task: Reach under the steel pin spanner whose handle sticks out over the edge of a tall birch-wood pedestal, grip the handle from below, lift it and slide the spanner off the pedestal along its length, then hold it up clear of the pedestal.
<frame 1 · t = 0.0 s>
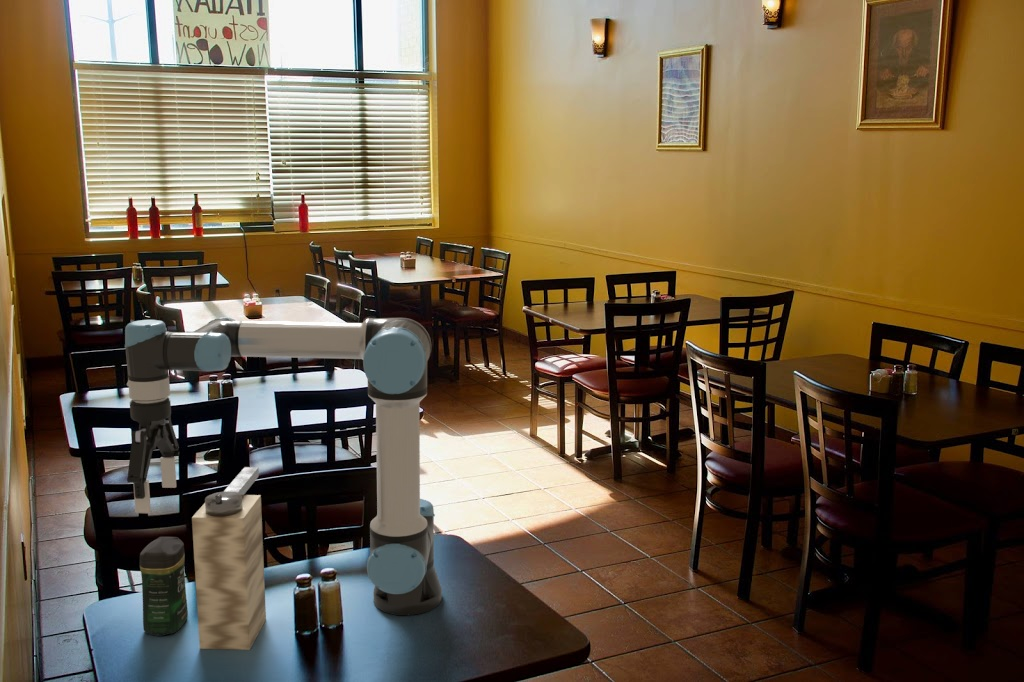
hand: (156, 499, 184), 28 cm above the table, tool pointing down, fingers open, 13 cm apart
pin spanner: (227, 505, 182), point 28 cm above the table, touching birch pedestal
coffee jar: (166, 626, 190), on the table
birch pedestal: (233, 633, 187), on the table
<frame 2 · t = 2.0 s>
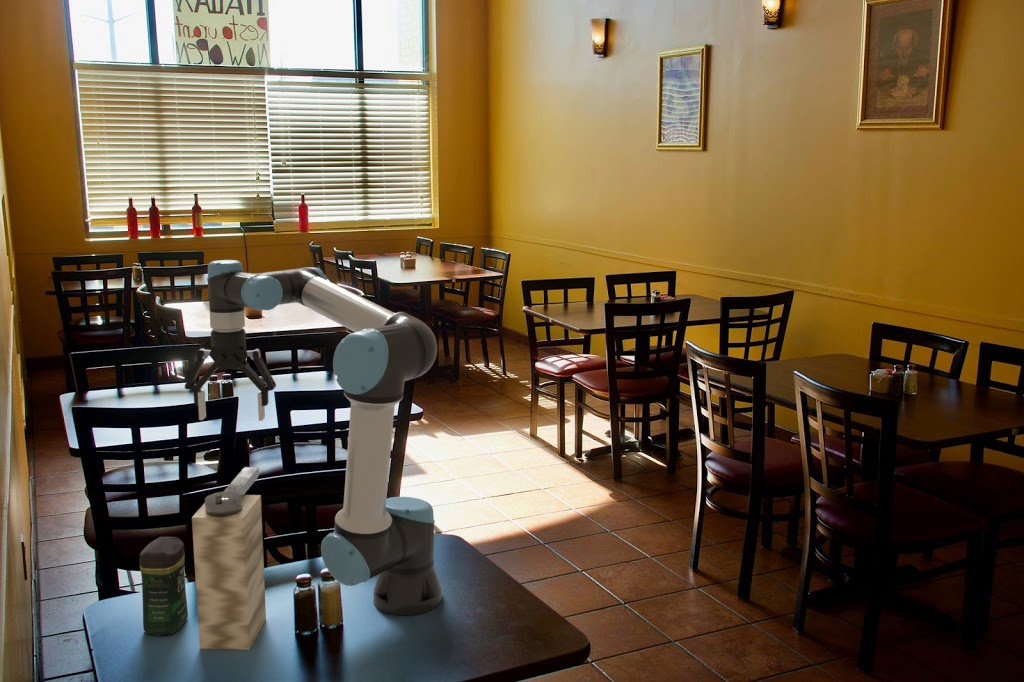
hand: (232, 418, 210), 37 cm above the table, tool pointing down, fingers open, 13 cm apart
nothing on the table moved.
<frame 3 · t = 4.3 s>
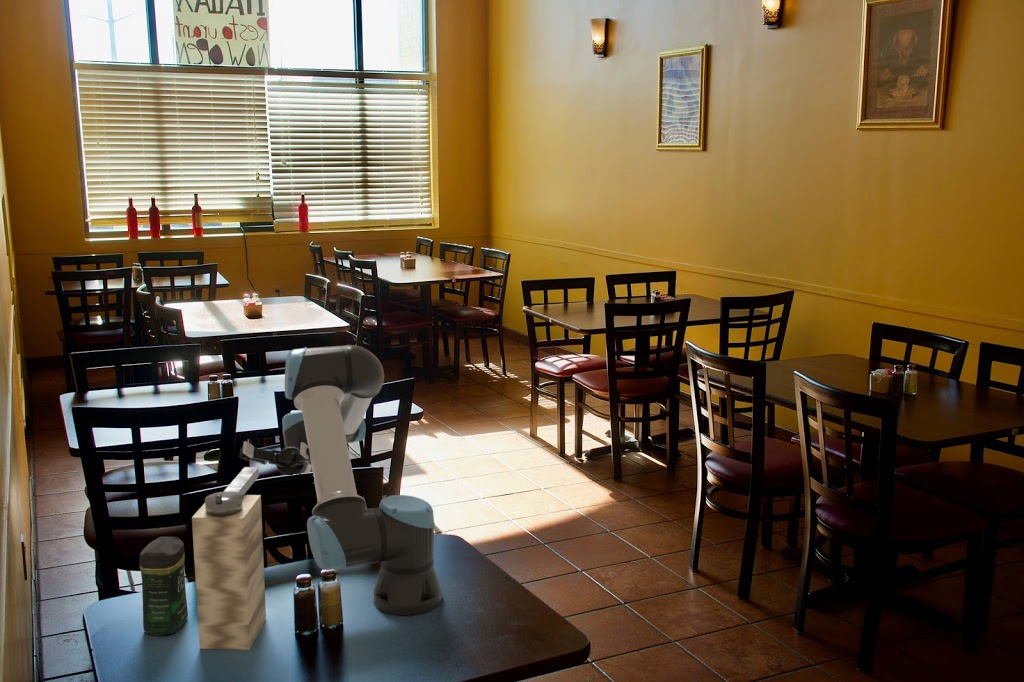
hand: (273, 447, 215), 28 cm above the table, tool pointing upward, fingers open, 13 cm apart
nothing on the table moved.
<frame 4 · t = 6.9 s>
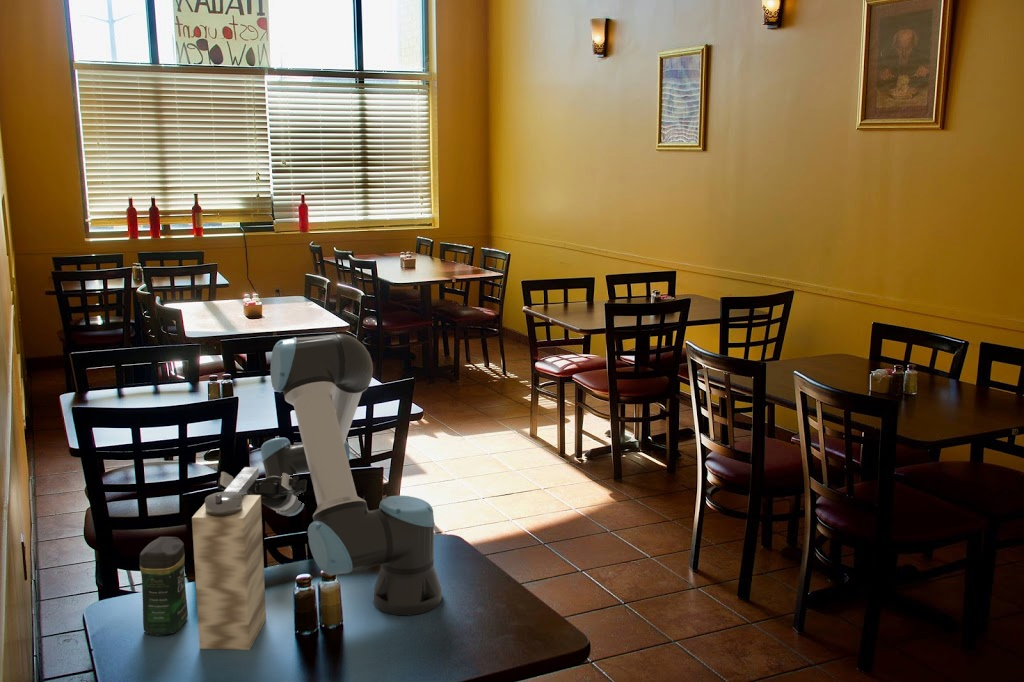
hand: (252, 478, 201), 27 cm above the table, tool pointing upward, fingers open, 13 cm apart
nothing on the table moved.
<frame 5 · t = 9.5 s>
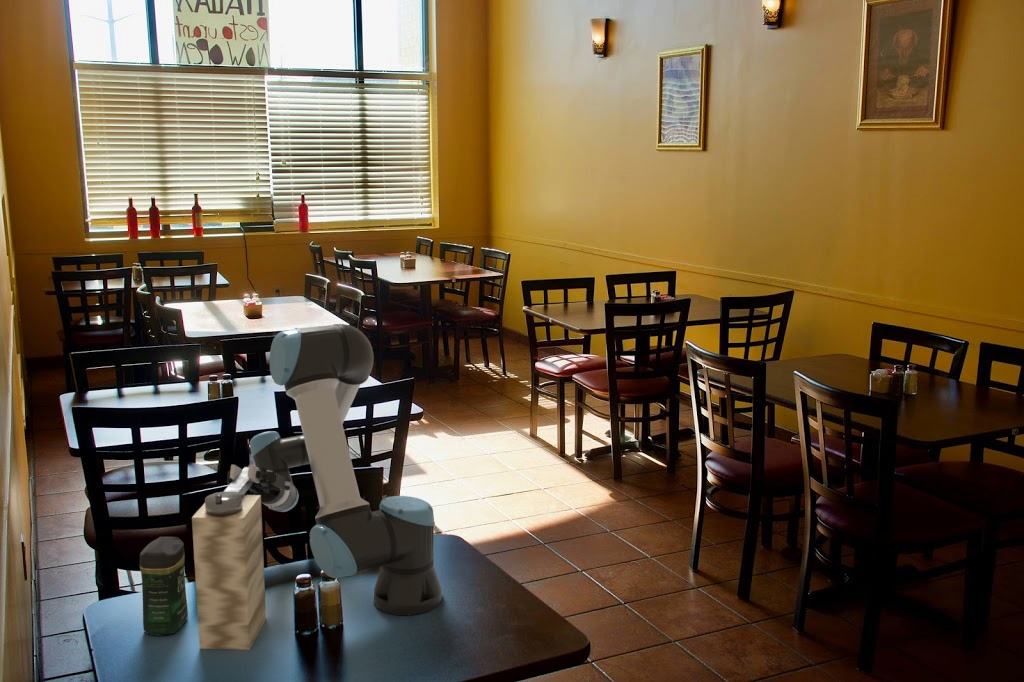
hand: (241, 471, 190), 32 cm above the table, tool pointing upward, fingers closed on pin spanner, 3 cm apart
pin spanner: (227, 505, 182), point 28 cm above the table, touching birch pedestal, gripper
everything else where it was.
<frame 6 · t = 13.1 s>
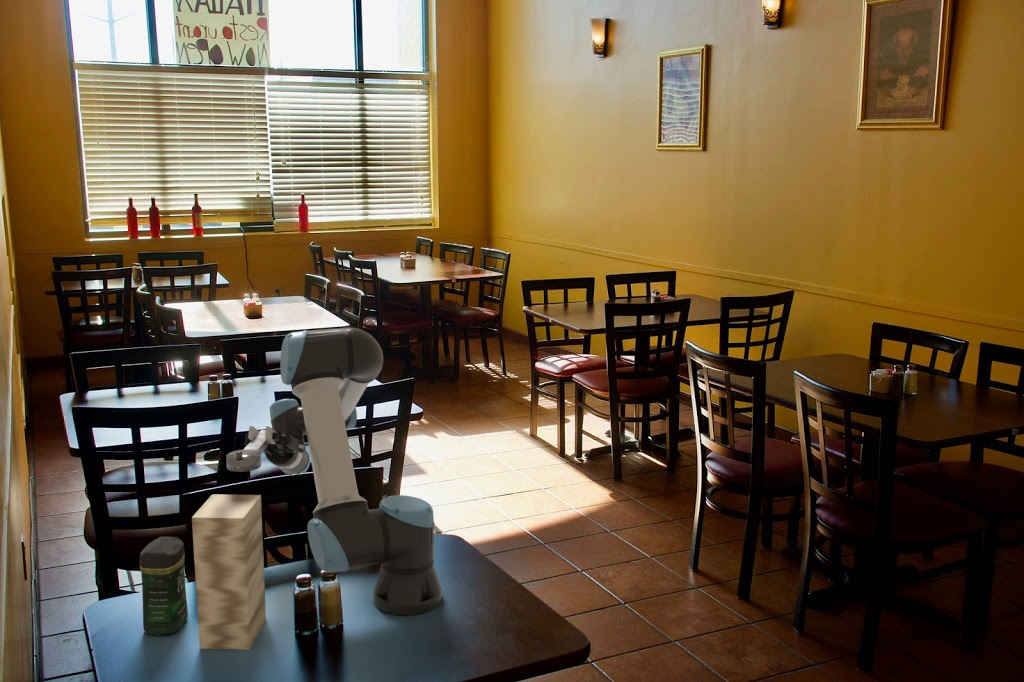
hand: (258, 432, 203), 36 cm above the table, tool pointing upward, fingers closed on pin spanner, 3 cm apart
pin spanner: (246, 462, 195), point 32 cm above the table, touching gripper
everything else where it was.
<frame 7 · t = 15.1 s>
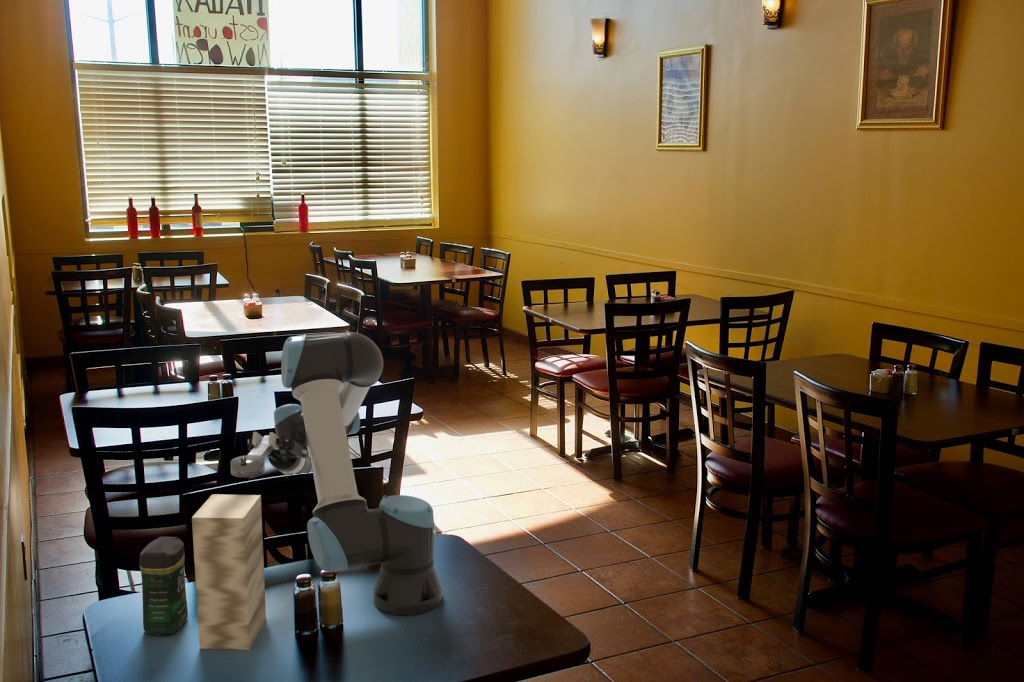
hand: (262, 437, 206), 34 cm above the table, tool pointing upward, fingers closed on pin spanner, 3 cm apart
pin spanner: (250, 468, 197), point 30 cm above the table, touching gripper
everything else where it was.
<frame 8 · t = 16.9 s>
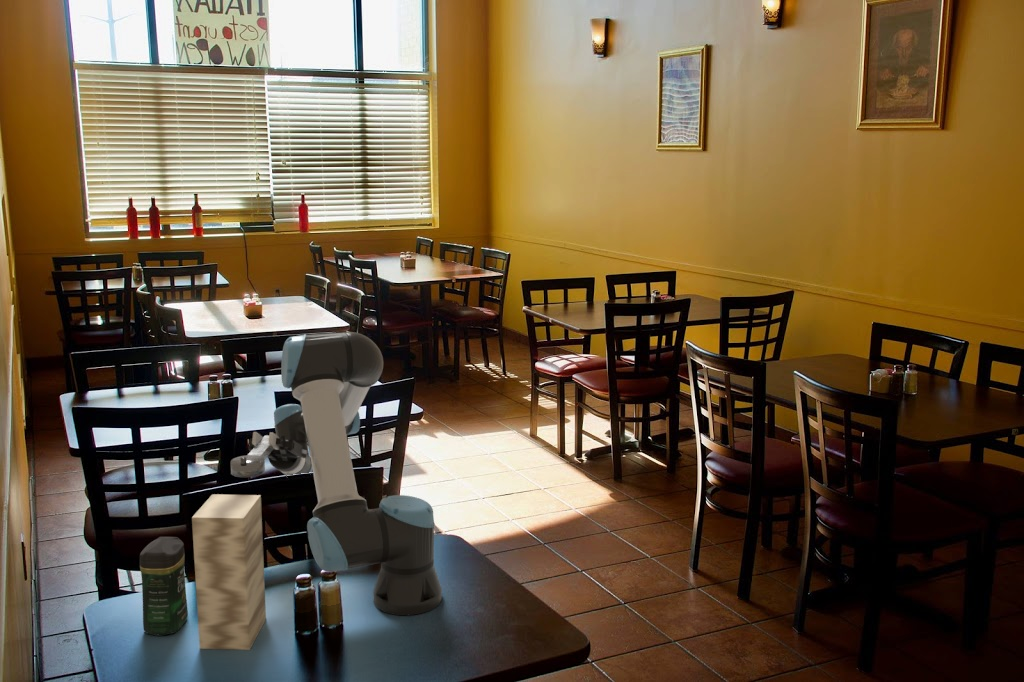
hand: (262, 437, 206), 34 cm above the table, tool pointing upward, fingers closed on pin spanner, 3 cm apart
pin spanner: (250, 468, 197), point 30 cm above the table, touching gripper
everything else where it was.
at the end: the gripper is holding pin spanner; pin spanner touching gripper; pin spanner inside the target area (0.5 cm from its centre), point 29.9 cm above the table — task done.
